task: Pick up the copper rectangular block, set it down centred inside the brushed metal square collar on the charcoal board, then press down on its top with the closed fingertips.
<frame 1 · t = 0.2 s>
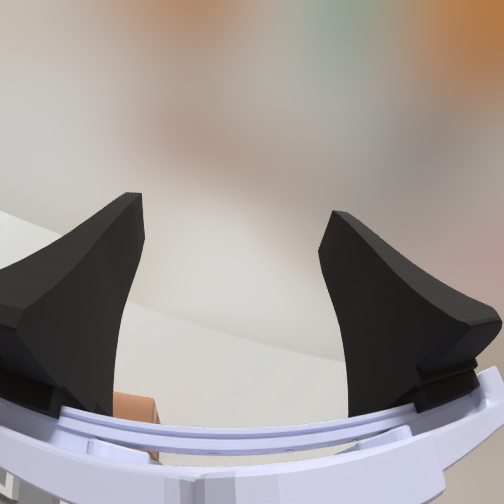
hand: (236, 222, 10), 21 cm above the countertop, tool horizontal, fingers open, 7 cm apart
copper rectangular block: (137, 439, 20), on the countertop
collar board: (2, 459, 12), on the countertop
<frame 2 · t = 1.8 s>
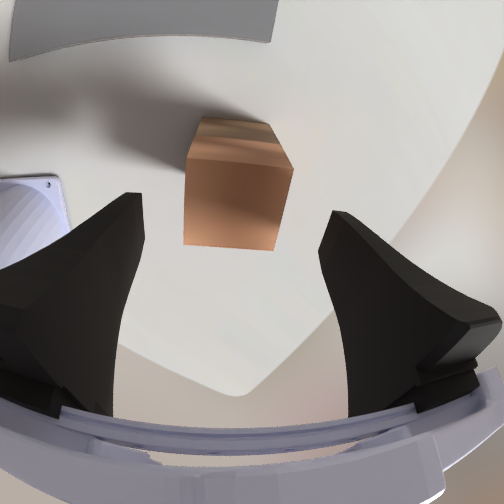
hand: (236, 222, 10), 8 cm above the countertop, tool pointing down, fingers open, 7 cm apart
copper rectangular block: (231, 150, 17), on the countertop
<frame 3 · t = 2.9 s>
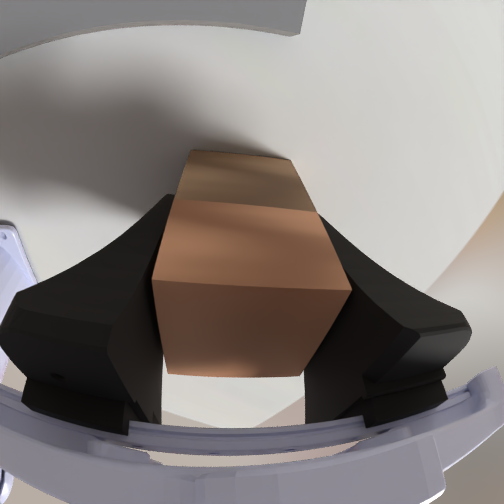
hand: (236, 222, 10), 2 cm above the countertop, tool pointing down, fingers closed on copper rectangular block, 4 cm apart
copper rectangular block: (235, 197, 12), on the countertop, touching gripper
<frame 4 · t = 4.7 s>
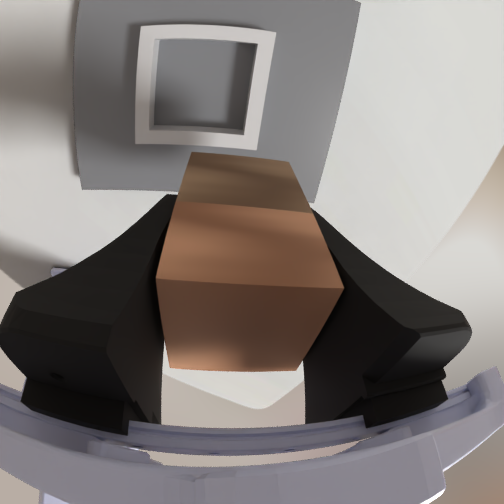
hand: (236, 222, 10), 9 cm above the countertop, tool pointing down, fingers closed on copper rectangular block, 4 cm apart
copper rectangular block: (234, 197, 12), point 7 cm above the countertop, touching gripper
collar board: (204, 81, 14), on the countertop
when the fingers open (4 cm above the countertop, at t = 6.3 s): copper rectangular block stays where it is, resting on collar board.
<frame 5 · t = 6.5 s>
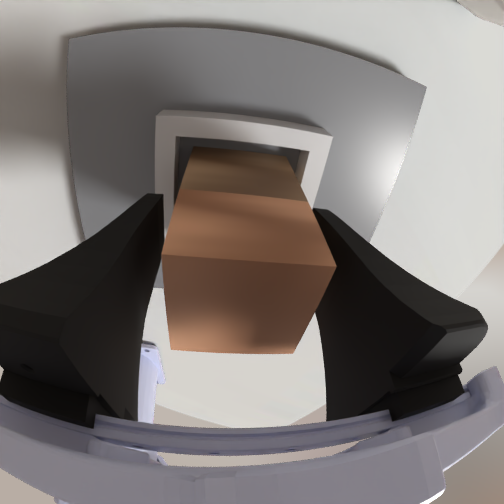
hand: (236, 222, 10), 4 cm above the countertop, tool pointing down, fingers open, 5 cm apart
copper rectangular block: (234, 191, 13), point 2 cm above the countertop, touching collar board
collar board: (234, 174, 14), on the countertop
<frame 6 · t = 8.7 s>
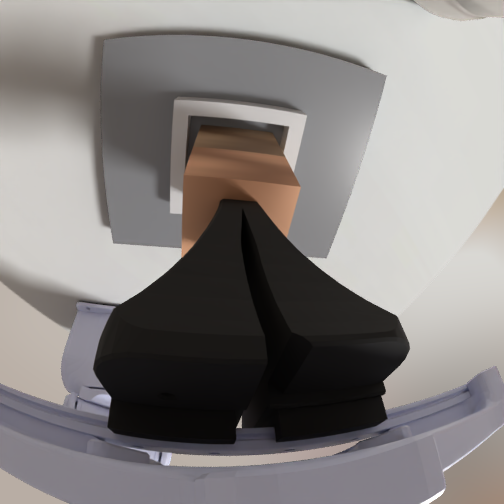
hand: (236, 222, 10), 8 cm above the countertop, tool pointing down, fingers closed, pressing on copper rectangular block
copper rectangular block: (232, 160, 16), point 1 cm above the countertop, touching collar board, gripper
collar board: (232, 149, 17), on the countertop
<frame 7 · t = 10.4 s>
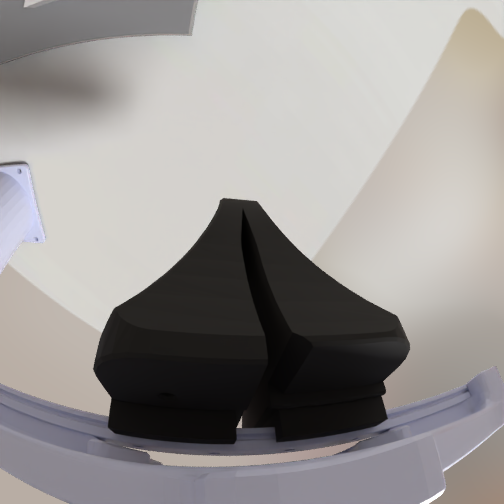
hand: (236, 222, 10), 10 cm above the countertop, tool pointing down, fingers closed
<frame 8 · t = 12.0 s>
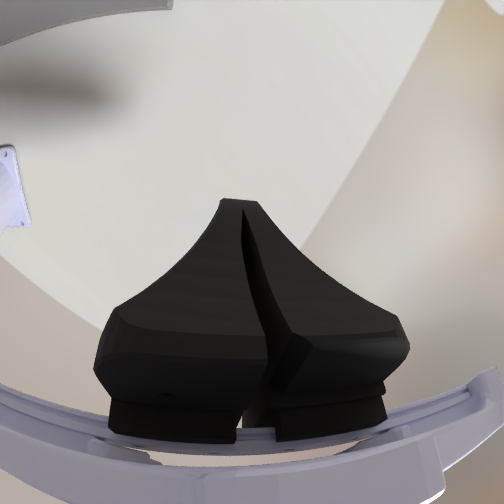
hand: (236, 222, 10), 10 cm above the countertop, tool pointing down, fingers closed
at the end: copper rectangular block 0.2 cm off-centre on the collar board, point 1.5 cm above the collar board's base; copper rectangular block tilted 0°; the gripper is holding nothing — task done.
